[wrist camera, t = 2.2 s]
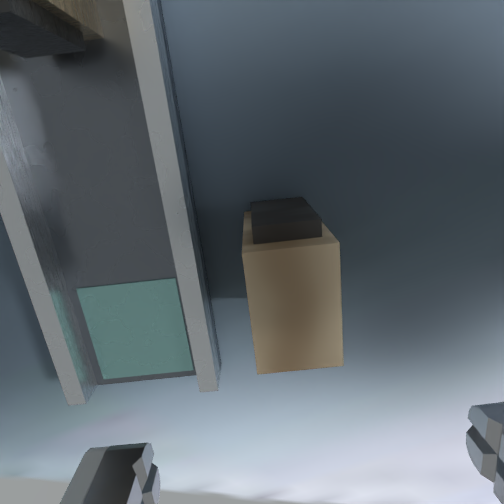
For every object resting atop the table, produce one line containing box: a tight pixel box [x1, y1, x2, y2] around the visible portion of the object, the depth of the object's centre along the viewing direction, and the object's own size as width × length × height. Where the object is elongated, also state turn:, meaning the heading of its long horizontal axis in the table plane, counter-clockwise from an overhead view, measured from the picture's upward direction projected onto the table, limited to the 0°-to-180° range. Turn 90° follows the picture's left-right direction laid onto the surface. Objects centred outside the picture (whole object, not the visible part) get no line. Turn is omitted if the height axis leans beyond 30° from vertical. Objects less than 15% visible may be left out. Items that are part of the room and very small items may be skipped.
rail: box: [0, 0, 221, 405], centre depth 17 cm, size 10×28×9 cm, turn 6°
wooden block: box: [242, 197, 344, 374], centre depth 19 cm, size 4×7×8 cm, turn 6°
